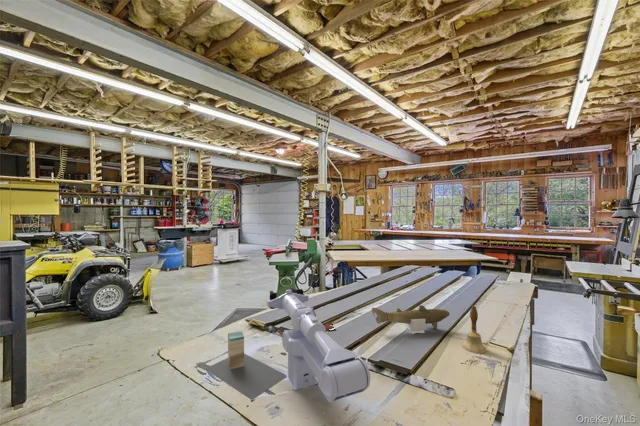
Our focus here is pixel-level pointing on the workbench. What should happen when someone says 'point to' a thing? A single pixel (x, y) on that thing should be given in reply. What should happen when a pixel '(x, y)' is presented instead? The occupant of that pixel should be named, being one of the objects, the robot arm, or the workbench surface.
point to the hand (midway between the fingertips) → (280, 292)
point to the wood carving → (412, 317)
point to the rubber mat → (247, 376)
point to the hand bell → (474, 335)
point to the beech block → (235, 349)
